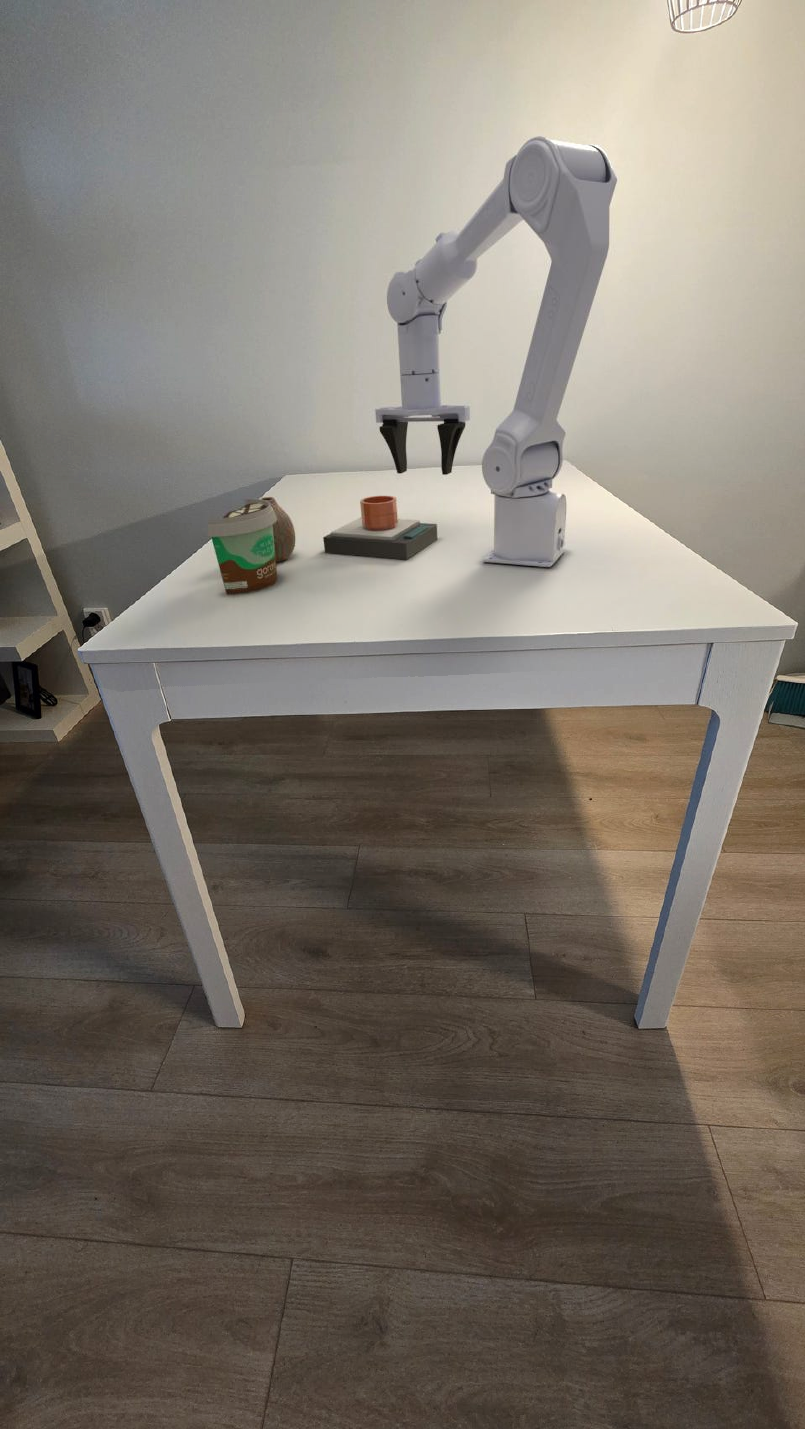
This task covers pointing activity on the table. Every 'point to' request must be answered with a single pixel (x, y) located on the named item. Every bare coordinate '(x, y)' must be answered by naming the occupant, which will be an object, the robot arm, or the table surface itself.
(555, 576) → the table surface
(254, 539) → the food container
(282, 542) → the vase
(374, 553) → the scale
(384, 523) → the terracotta cup
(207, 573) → the table surface
